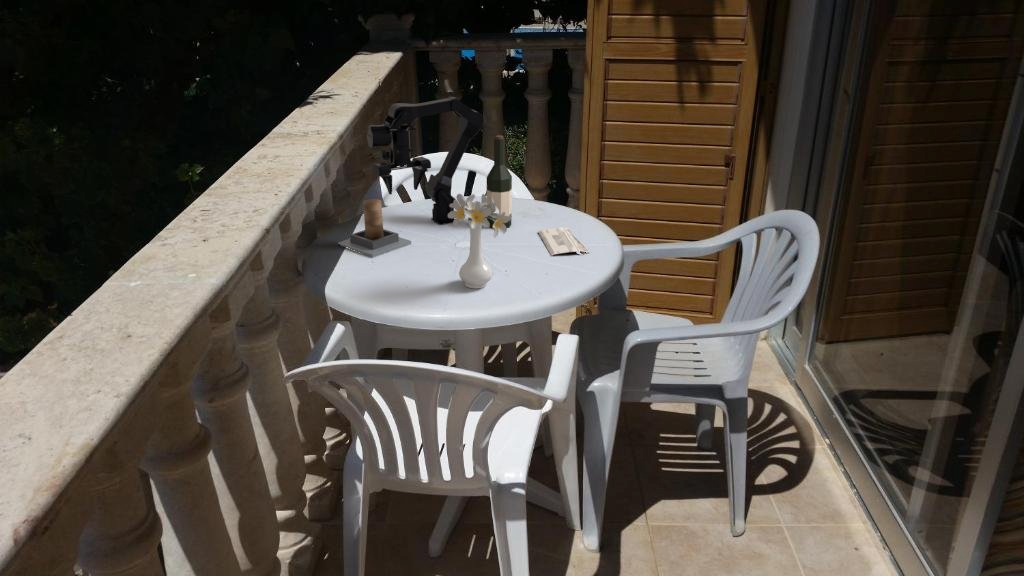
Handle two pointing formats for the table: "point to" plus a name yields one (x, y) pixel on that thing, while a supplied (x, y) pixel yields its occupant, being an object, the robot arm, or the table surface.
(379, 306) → the table surface
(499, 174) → the wine bottle
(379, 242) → the collar
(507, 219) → the flower vase
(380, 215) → the peg
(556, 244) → the newspaper
